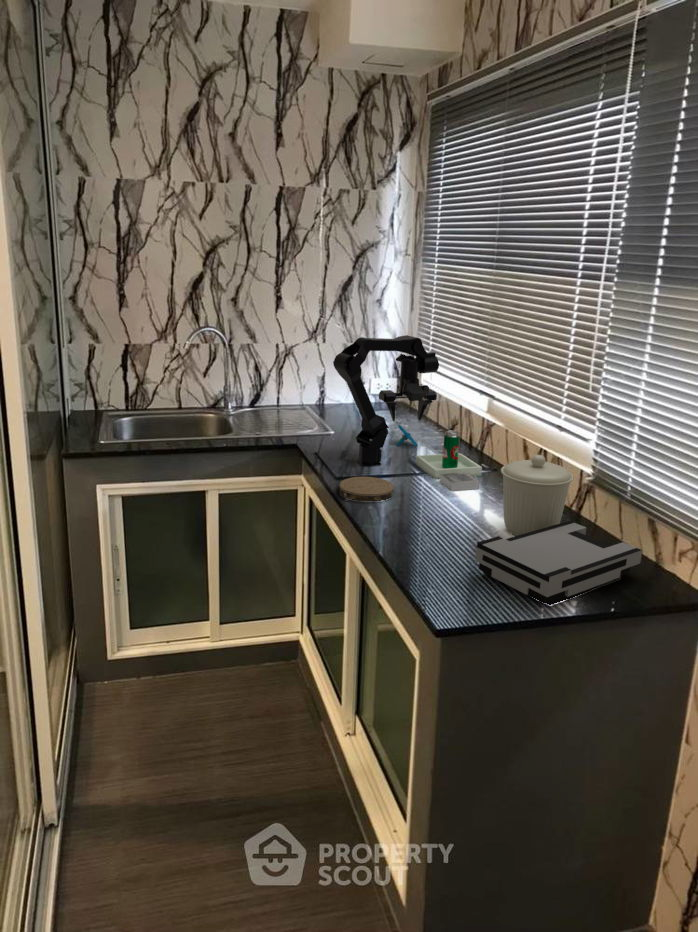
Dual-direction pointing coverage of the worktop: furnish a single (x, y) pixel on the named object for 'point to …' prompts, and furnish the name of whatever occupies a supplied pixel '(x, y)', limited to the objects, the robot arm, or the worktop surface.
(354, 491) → the tan round disc
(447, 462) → the soda can
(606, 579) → the game console
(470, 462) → the sage tray
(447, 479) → the steel socket
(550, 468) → the canister
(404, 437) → the gear
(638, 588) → the worktop surface
